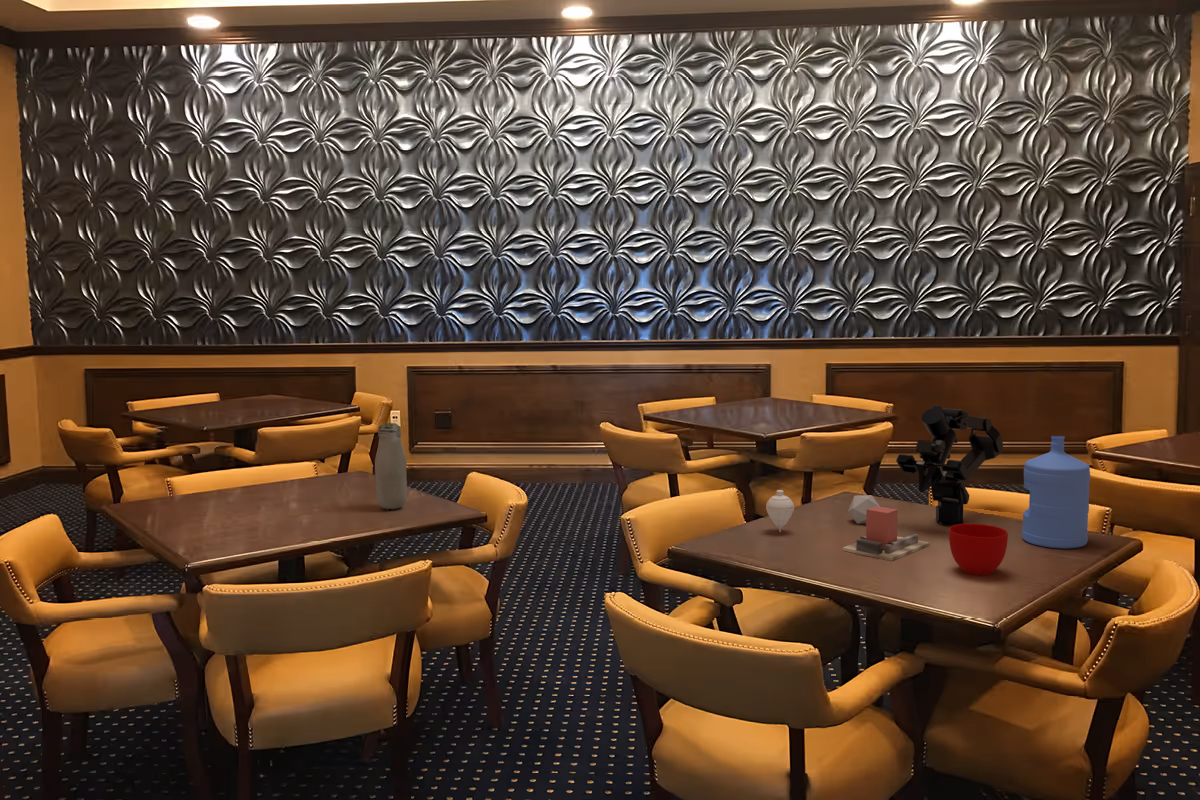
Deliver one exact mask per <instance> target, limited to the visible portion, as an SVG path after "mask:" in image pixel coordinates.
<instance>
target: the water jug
mask: <svg viewBox="0 0 1200 800" xmlns="http://www.w3.org/2000/svg"><path fill="white" fill-rule="evenodd" d="M1065 438H1066V437H1065V436H1062V435H1051V437H1050V439H1051V442H1050V451H1049V452H1046V453H1044V454H1041V455H1039V456H1036V457H1033V458H1031V459H1029V460H1026V461H1025V463H1024V468H1023V487H1024V489H1025V490H1028V491H1029V497H1028V498H1029V501H1028V504H1029V505H1028V508H1027V509H1026V510H1024V511H1023V513H1022V529H1021V537H1022V539H1023V540H1024V541H1025V542H1027V543H1029V544H1031V545H1036V546H1039V547H1044V548H1049V549H1050V548H1052V549H1066V550H1067V549H1068V550H1069V549H1077V548H1078V549H1079V548H1081V547H1084V546H1086V545H1087V543H1088V540H1089V539H1088V538H1089V534H1088V529H1089V528H1088V527H1089V526H1088V525H1089V523H1088V522H1089V512H1090V503H1089V499H1090V498H1089V497H1090V483H1091V471H1090V470H1091V467H1090V465H1089V463H1086V462H1084V461H1083V460H1081V459H1079V458H1076V457H1074V456H1072V455H1070V454H1068V453H1066V452H1065Z"/></svg>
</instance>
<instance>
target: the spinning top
mask: <svg viewBox="0 0 1200 800" xmlns="http://www.w3.org/2000/svg"><path fill="white" fill-rule="evenodd" d="M765 507H766V508H765V509H766V512H767V514H768V516H769V519H771V521H772V522H773V524H774V525H775V526H776V528H777V529H778V530H779V533H781V531H782V529H783V528H784V527H785V526H786V524H787V523H788V522H789V520H790V519H791V517H792V516H793V513H794V510H795V504H794V502H793V500H792V499H791V498H790V497H789V496H787V495H784V490H782V489H777V490H776V495H773V496H771V497H769V499H768V500H767V502H766V505H765Z"/></svg>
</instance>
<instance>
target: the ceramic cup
mask: <svg viewBox="0 0 1200 800" xmlns="http://www.w3.org/2000/svg"><path fill="white" fill-rule="evenodd" d="M1008 533H1009V532H1008V531H1007V530H1006V529H1004V528H1002V527H999V526H995V525H990V524H983V523H965V524H958V525H950V526H949V528H948V539H949V549H950V552H951V555H952V558H953V560H954V561H955V563H956V565H958V567H959V568H960V569H961V570H962V572H963V573H965V574H969V575H973V576H974V575H975V576H988V575H991V574H993V572H994V571H996V569H997V568H998V567H999V566H1000V565H1001V564H1002V562H1003V560H1004V558H1005V554H1006V553H1007V552H1006V551H1007V547H1008V538H1009V534H1008Z"/></svg>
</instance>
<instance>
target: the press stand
mask: <svg viewBox="0 0 1200 800" xmlns="http://www.w3.org/2000/svg"><path fill="white" fill-rule="evenodd" d="M882 546H883V543H880V542H875V541H870V540H866V535H865V536H860V537H859V538H857V539H856V542H854V543H851V544H849V545H846V546H843V547H842V551H843V552H849V553H853V554H856V555H857V554H858V555H861V556H867V557H871V558H876V559H879V560H880V559H881V560H885V561H889V562H892V561H895V560H898V559H901V558H903V557H906V556H907V555H909V554H912V553H916V552H917V551H920V550H921V549H925V548H926V547H929V546H930V542H929V541H923V540H919V534H916V533H911V534H910V535H907V536H905V537H903V536H898V535H897V541H894V542H892V543H890V542H888V544H887V545H885V549H882Z"/></svg>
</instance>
